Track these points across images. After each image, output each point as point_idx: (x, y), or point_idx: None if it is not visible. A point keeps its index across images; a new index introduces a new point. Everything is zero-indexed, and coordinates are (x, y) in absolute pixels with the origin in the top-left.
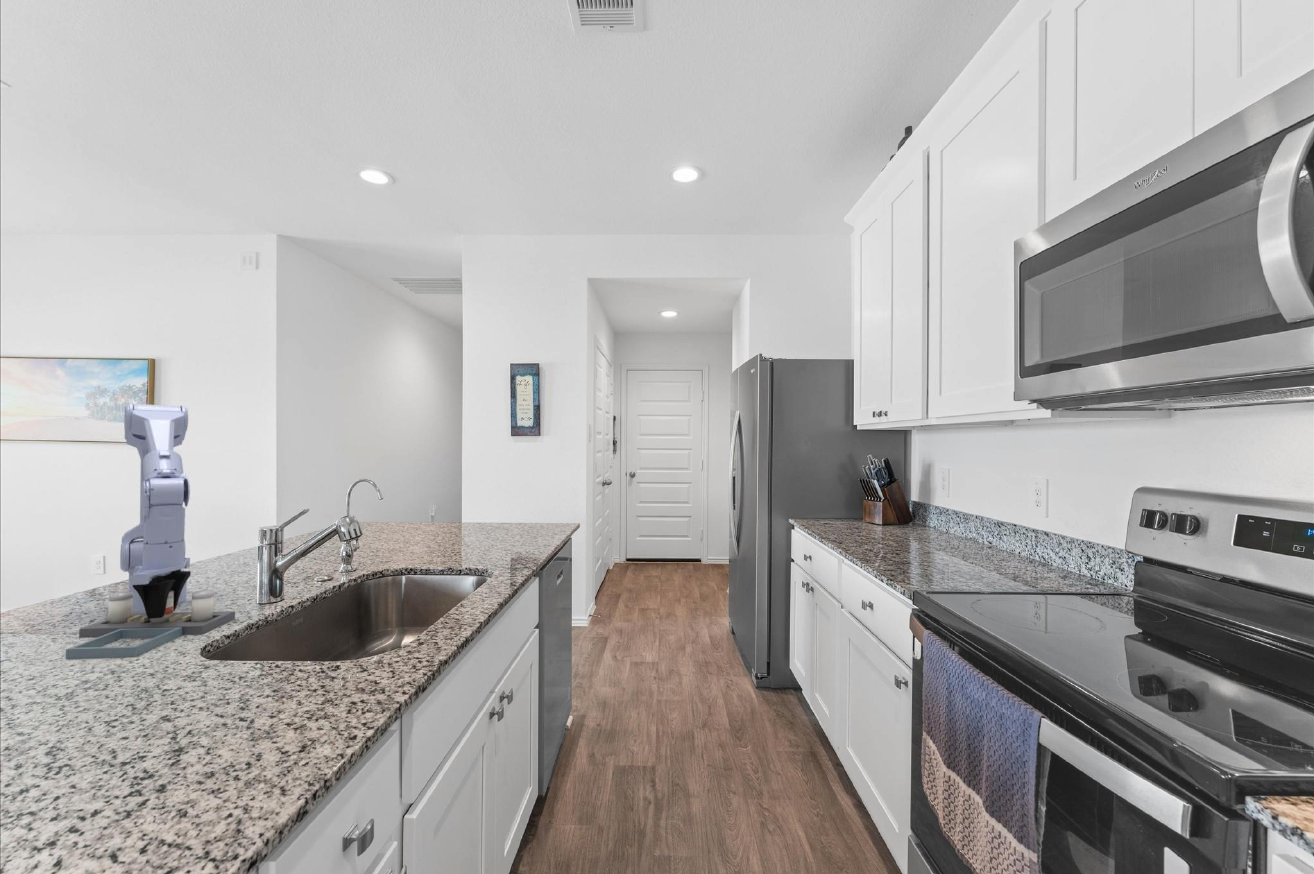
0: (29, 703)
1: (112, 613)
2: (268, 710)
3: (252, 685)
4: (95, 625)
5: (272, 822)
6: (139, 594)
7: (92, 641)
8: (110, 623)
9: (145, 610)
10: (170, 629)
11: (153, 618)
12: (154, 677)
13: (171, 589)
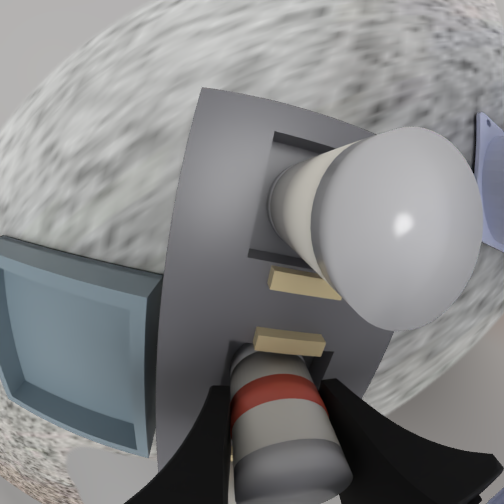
0: None
1: (285, 195)
2: (4, 464)
3: (27, 469)
4: (248, 129)
5: None
6: (145, 487)
7: (19, 274)
8: (278, 184)
9: (201, 410)
10: (136, 439)
11: (233, 390)
12: (5, 408)
13: (353, 491)
